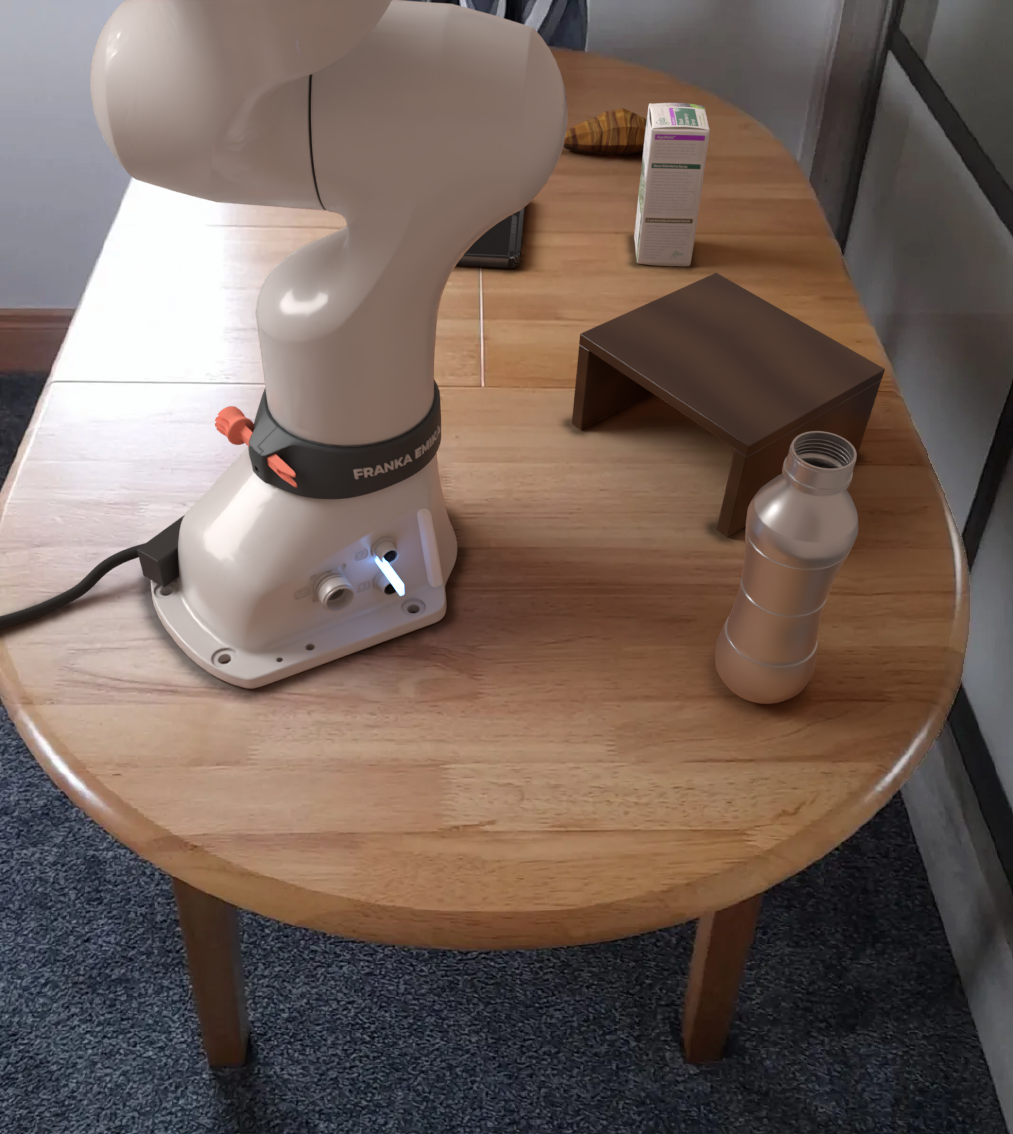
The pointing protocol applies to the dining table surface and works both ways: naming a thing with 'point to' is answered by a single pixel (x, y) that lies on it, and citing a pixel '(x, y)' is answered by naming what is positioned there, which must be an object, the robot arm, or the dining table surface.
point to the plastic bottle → (789, 570)
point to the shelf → (728, 378)
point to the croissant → (608, 134)
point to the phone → (497, 245)
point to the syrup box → (670, 183)
